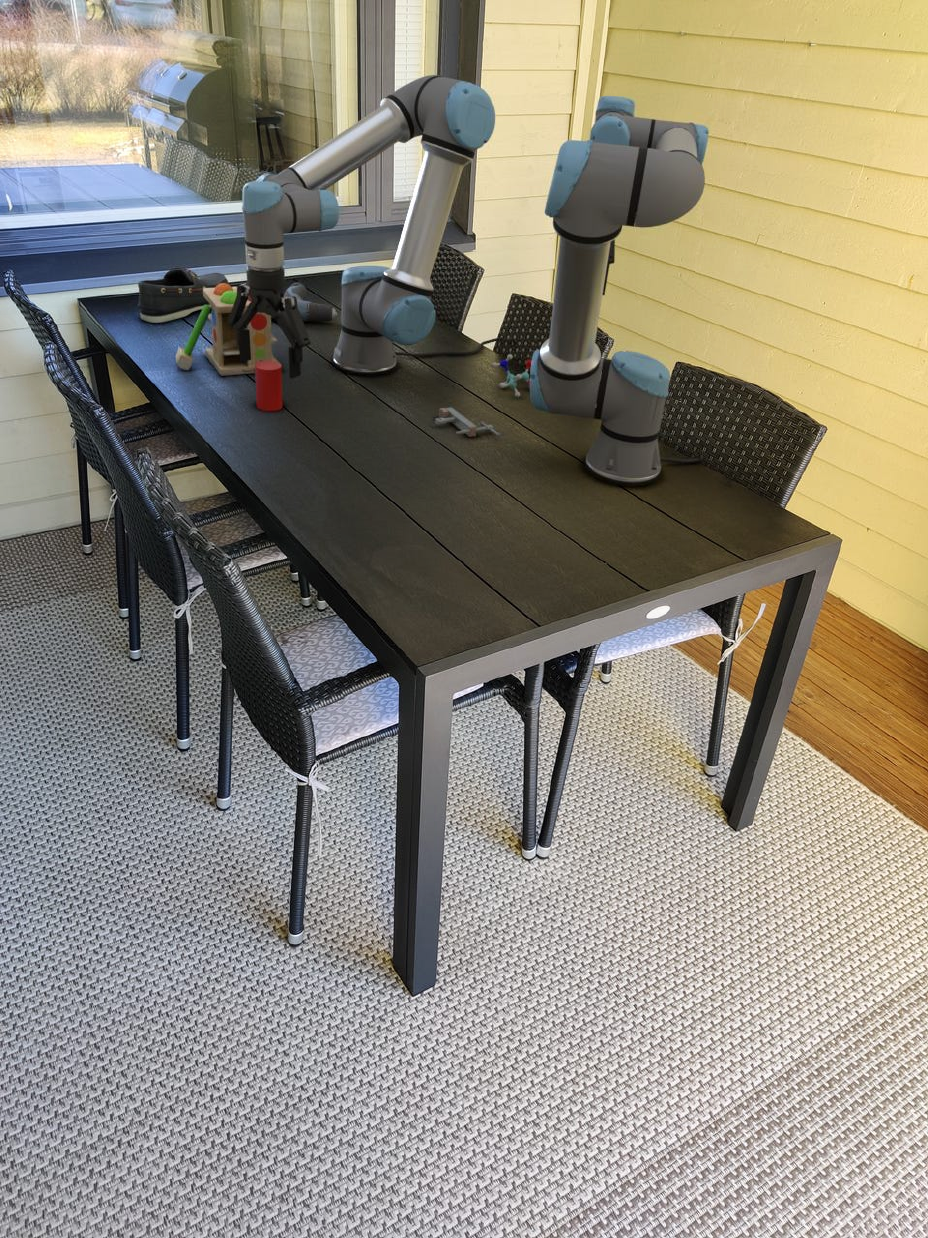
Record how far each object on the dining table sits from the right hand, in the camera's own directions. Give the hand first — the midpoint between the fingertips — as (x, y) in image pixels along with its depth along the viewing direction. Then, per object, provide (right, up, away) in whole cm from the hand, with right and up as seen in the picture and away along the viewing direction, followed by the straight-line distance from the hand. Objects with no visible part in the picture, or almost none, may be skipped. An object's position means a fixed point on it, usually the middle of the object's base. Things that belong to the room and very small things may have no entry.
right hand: (588, 285), depth 214 cm
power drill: (-70, +10, +53) cm, 89 cm away
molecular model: (-16, -19, +18) cm, 30 cm away
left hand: (-69, -20, -6) cm, 72 cm away
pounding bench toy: (-83, -13, +16) cm, 86 cm away
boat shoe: (-102, +11, +48) cm, 113 cm away
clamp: (-27, -32, -4) cm, 43 cm away
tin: (-70, -27, -2) cm, 75 cm away
